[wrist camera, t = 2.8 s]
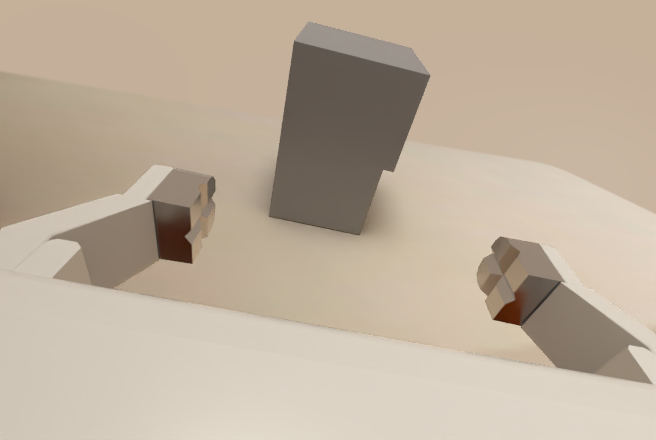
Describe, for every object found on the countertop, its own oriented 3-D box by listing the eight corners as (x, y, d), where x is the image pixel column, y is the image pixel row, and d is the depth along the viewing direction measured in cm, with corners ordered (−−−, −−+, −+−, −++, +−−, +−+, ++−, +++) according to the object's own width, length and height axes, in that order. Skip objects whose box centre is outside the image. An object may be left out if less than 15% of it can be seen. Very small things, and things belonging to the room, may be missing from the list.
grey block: (269, 216, 21) (294, 40, 15) (285, 167, 26) (308, 21, 20) (368, 236, 22) (430, 75, 16) (365, 184, 27) (411, 48, 21)
